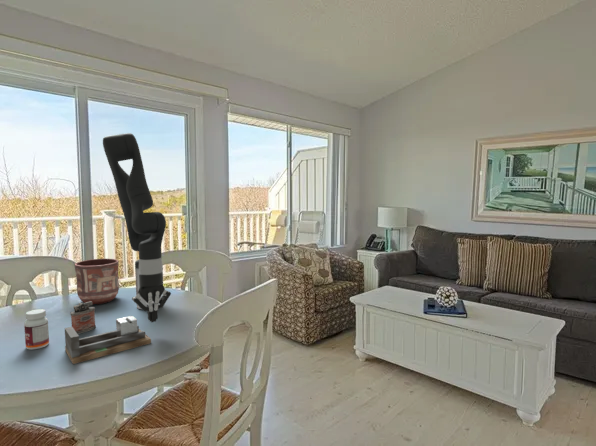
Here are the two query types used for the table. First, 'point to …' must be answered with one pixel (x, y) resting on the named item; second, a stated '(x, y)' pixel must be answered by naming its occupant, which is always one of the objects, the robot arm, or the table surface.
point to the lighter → (83, 317)
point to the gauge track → (101, 344)
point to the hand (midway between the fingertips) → (152, 321)
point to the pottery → (97, 280)
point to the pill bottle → (36, 329)
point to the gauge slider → (126, 326)
